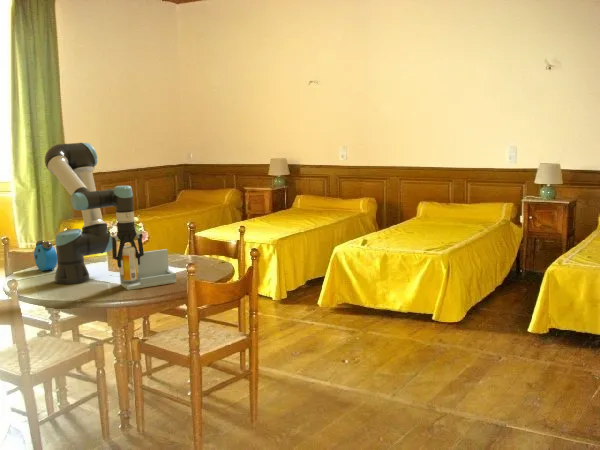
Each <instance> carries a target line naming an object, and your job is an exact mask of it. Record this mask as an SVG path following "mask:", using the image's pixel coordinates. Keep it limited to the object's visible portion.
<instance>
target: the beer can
mask: <svg viewBox="0 0 600 450" xmlns="http://www.w3.org/2000/svg"><path fill="white" fill-rule="evenodd" d="M122 251H123V253H122V260H123V269H124V275H123V279H124V280H125V281H127V282H129V281H135V280H136V279H137V267H136V253H135V248H134V247H132V246H131V245H124V248H123V250H122Z"/></svg>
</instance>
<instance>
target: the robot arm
mask: <svg viewBox="0 0 600 450" xmlns="http://www.w3.org/2000/svg"><path fill="white" fill-rule="evenodd" d="M44 164H45V167H46V169H47V170H48V171H49V173H51V174H53V175H54V176H55V177H56V179H57V180H58V181H59V182H60V183H61V185H62V186H63V188H65V190H66V191H67V192H68V194H69V195H70V204H71V206H72V207H71V208H72V209H73V210H75V211H81V215H82V220H83V225H82V227H81V228H72V229H71V228H70V229H65V230H63V231H60V232H58V233H56V235H55V236H54V237H55V243H54V244H55V251H56V254H57V265H56V272H55V275H54V283H55V284H58V285H72V284H73V285H74V284H78V283H83V282H87V281H88V280H90V273H89V271H88V268H87V266H86V264H85V257H87V256H92V255H99V254H102V255H103V254H105V253H109V252H111V251H112V255H111V256H112V259H113V260H116V262H117V263H116V264H117V268H120V270H119V274H120V273H121V275H124V269H123V260H121V257H122V253H123V251H122V250H123V248H124V246H126V244H127V243H130V246H132V247H134V248H135V253H136V267H137V273H139V271H138V265H140V257H141V256H143V255H144V252H145V251H144V247H143V234H142V233H140V232H138V233H137V231H136V222H135V210H134V209H135V208H134V194H133V188H132V186H130V185H116V186H115V187H114V188H107V189H104V190H97V188H96V182H95V178H94V174H93V172H94V170H96V168H95V166H97V164H98V154H97V151H96V149H95V147H94V146H93V145H92V144H91V143H88V142H75V143H72V142H71V143H57V144H54V145H52V146H51V147H50V148H49V149H48V150H47V151H46V153H45V156H44ZM109 207H110V208H113V207H115V217H116V231H117V233H116V235H114V237H112V236H110V235H109V233H108V232H107V226H108V223H107V222H106V221H104V220H103V215H102V211H101V209H103V208H109ZM135 238H137V244H138V248H137V246H136V242H135ZM118 240H119V247H118V246H117V241H118ZM117 247H118V251H117Z"/></svg>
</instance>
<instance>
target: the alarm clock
mask: <svg viewBox="0 0 600 450" xmlns="http://www.w3.org/2000/svg"><path fill="white" fill-rule="evenodd" d="M33 259H34V262H35V265H36V267H37V268H38V270H39V271H41V272H46V271H50V270H53V271H55V268H57V266H58V263H57V253H56V247H54V245H53V243H52V242H50V241H47V240H42V239H39V240H38V241H36V243H35V247H34V250H33Z"/></svg>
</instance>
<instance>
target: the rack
mask: <svg viewBox="0 0 600 450" xmlns="http://www.w3.org/2000/svg"><path fill="white" fill-rule="evenodd" d="M143 252H144V255H143V256H141V257H140V265H138V271H139V273H137V279H136V280H135V281H129V282H127V281H125V280H124V279H123V275H121V273H120V272H119V280H120V281H119V283H120V286H121V287H123V288H124V289H126V290H127V291H130V290H137V289H141V288H150V287H156V286H160V285H161V286H162V285H167V284H168V285H169V284H173V283H177V273H175V272H173V271H171V270H169V269H170V268H169V256H168V253H169V252H168V249H167V248H164V249H157V250H155V249H154V250H149V251H143ZM121 260H122V257H121ZM118 268H119V267H118ZM119 271H120V268H119Z"/></svg>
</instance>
